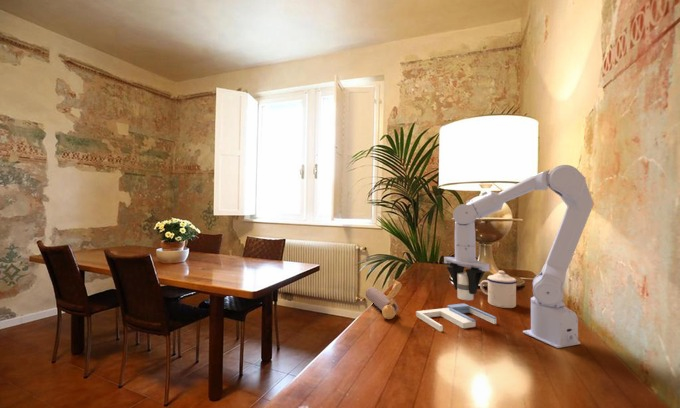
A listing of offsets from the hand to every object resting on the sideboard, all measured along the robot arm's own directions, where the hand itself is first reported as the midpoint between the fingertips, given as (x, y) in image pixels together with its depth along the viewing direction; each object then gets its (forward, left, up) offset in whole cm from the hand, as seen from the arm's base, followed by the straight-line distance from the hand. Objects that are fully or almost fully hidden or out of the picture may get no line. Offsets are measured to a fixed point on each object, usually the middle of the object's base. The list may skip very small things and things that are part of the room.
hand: (465, 291), depth 87 cm
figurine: (+7, +20, -9) cm, 23 cm away
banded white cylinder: (0, 0, -2) cm, 2 cm away
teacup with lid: (+11, -23, -9) cm, 27 cm away
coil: (+18, +19, -9) cm, 28 cm away
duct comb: (+2, +2, -9) cm, 9 cm away
